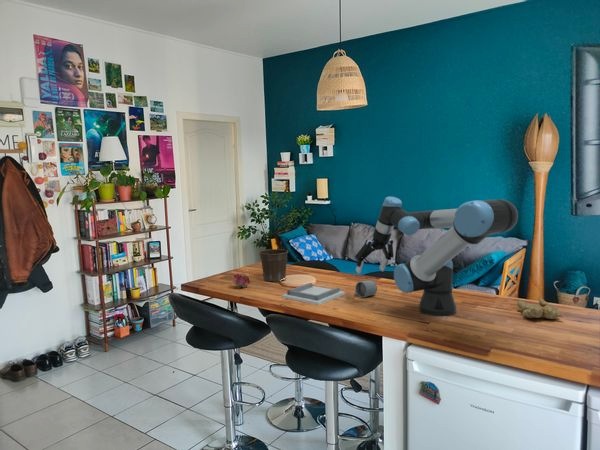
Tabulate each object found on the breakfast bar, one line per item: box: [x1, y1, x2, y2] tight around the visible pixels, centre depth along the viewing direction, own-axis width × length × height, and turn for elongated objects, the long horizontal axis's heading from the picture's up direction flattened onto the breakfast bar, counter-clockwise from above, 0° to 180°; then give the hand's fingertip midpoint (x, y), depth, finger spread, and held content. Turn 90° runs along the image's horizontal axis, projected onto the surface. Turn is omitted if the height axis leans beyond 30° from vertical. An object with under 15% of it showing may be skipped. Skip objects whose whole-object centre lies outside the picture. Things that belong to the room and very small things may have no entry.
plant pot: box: [258, 248, 289, 283], centre depth 250 cm, size 16×16×16 cm
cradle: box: [281, 282, 346, 306], centre depth 217 cm, size 22×22×3 cm
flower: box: [232, 273, 251, 290], centre depth 235 cm, size 10×9×8 cm
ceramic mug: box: [354, 280, 378, 299], centre depth 216 cm, size 11×8×8 cm
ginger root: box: [516, 297, 565, 320], centre depth 179 cm, size 16×16×8 cm
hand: (369, 271), depth 206 cm, fingers open, 13 cm apart
